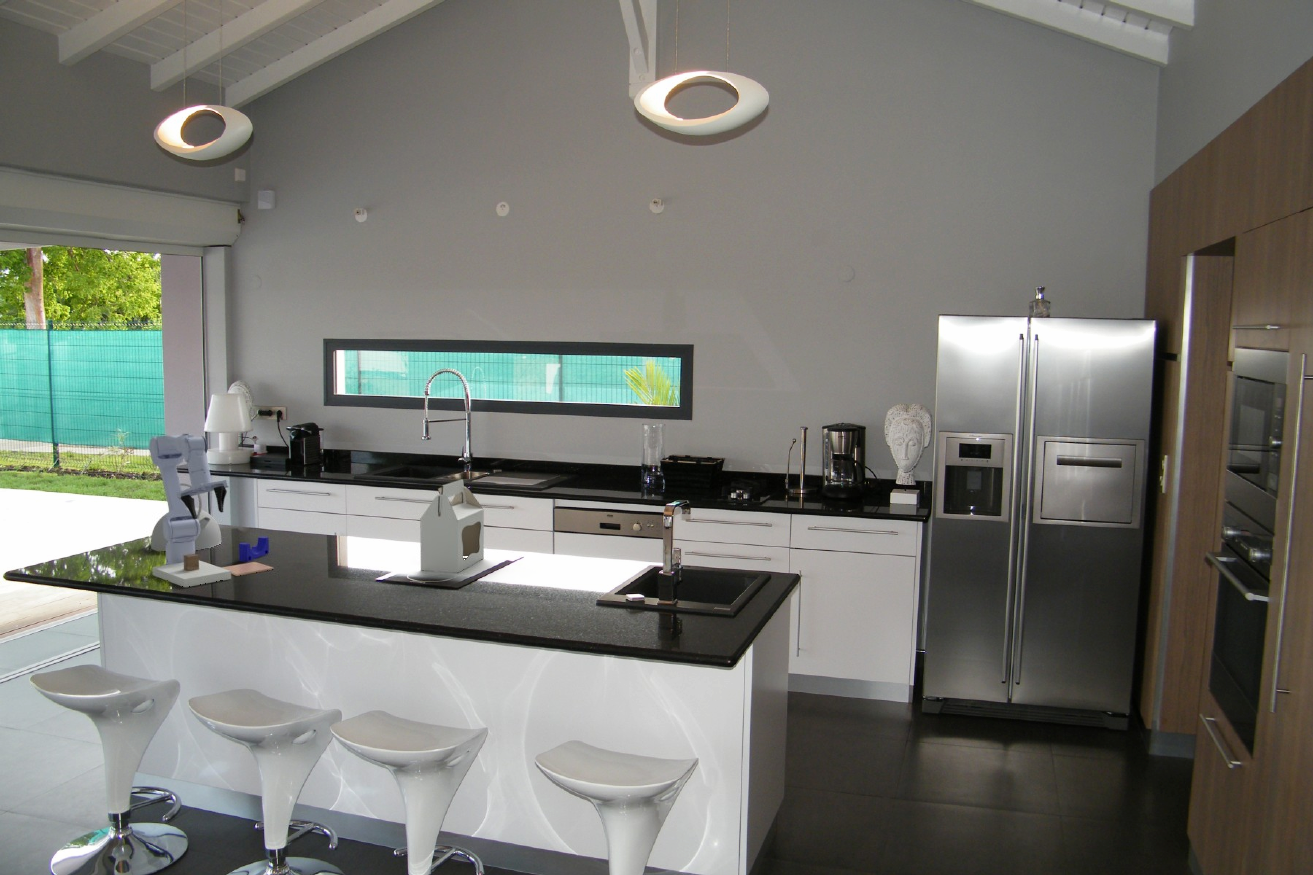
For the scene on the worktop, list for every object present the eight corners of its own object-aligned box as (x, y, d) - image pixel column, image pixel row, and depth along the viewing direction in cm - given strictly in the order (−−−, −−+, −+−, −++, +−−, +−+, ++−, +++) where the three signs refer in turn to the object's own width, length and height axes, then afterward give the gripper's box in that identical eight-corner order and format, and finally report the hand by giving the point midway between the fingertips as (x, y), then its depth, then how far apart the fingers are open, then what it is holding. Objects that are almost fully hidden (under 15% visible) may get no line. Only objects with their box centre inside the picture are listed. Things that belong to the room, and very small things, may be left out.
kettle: (238, 544, 337) (237, 483, 335) (179, 556, 318) (176, 491, 316) (197, 536, 350) (195, 477, 348) (137, 546, 331) (135, 484, 329)
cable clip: (257, 553, 324) (256, 536, 324) (269, 554, 323) (268, 537, 323) (235, 561, 312) (234, 543, 312) (247, 561, 312) (246, 544, 311)
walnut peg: (184, 577, 289) (183, 555, 289) (194, 575, 292) (193, 553, 291) (188, 578, 287) (188, 556, 287) (199, 577, 290) (198, 555, 289)
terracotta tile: (219, 569, 299) (218, 567, 299) (254, 563, 309) (254, 561, 308) (237, 576, 292) (237, 574, 292) (273, 569, 301) (273, 567, 301)
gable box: (448, 556, 325) (448, 476, 322) (484, 558, 322) (484, 478, 319) (420, 570, 303) (419, 485, 300) (457, 573, 300) (457, 487, 298)
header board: (152, 575, 291) (152, 567, 291) (198, 567, 302) (197, 559, 302) (184, 587, 277) (184, 579, 277) (231, 578, 288) (230, 570, 288)
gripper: (170, 476, 281) (178, 518, 277) (220, 463, 284) (228, 505, 281) (178, 482, 287) (186, 523, 284) (227, 469, 290) (235, 510, 287)
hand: (208, 515), depth 283 cm, fingers open, 7 cm apart
